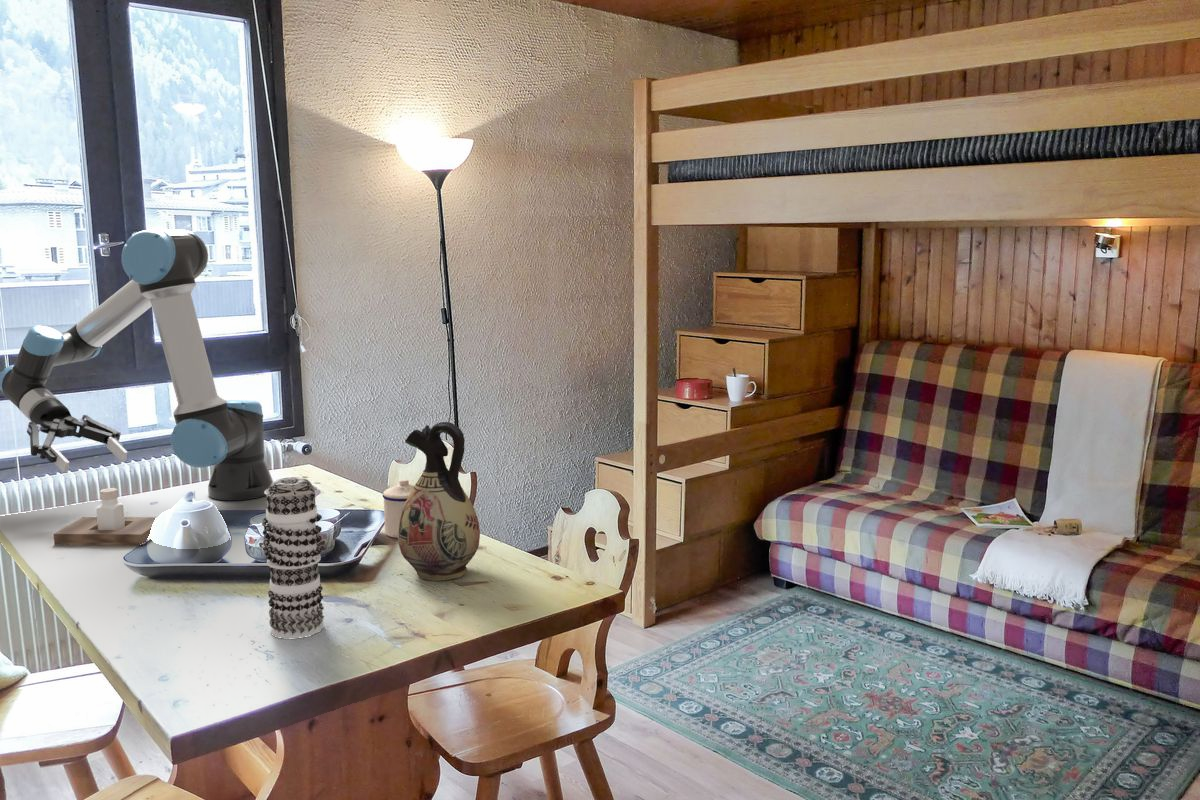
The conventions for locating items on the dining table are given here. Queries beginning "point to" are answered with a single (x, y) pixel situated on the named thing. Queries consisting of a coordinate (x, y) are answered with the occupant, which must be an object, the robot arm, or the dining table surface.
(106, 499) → the salt shaker
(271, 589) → the decorative candle
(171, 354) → the robot arm
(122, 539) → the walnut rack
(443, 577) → the ceramic jug
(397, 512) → the teacup with lid
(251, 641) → the dining table surface
